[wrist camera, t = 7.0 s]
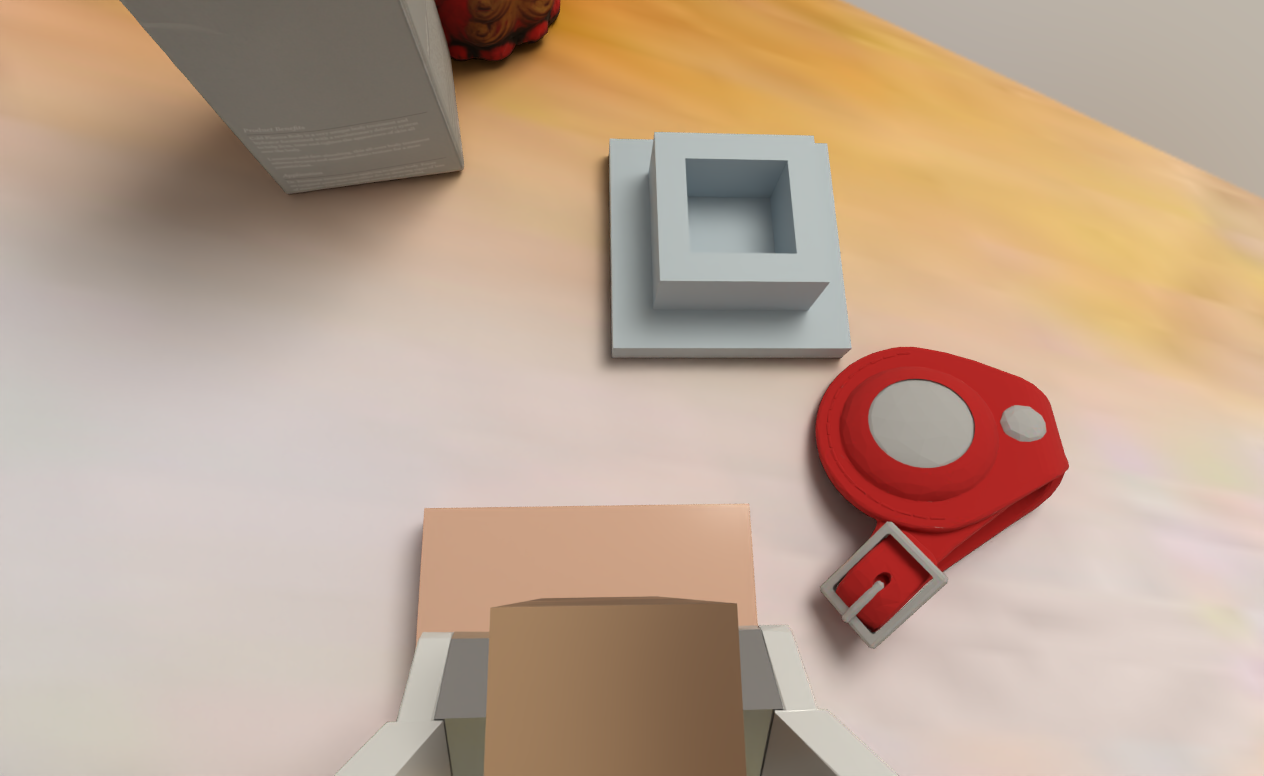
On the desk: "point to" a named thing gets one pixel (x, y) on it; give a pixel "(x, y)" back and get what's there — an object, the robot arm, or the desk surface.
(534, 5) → the red clay folk toy
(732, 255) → the grey square socket base
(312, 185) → the skincare box
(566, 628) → the post
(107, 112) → the desk surface
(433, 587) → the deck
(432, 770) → the robot arm
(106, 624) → the desk surface
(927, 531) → the tracker holder
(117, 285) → the desk surface
